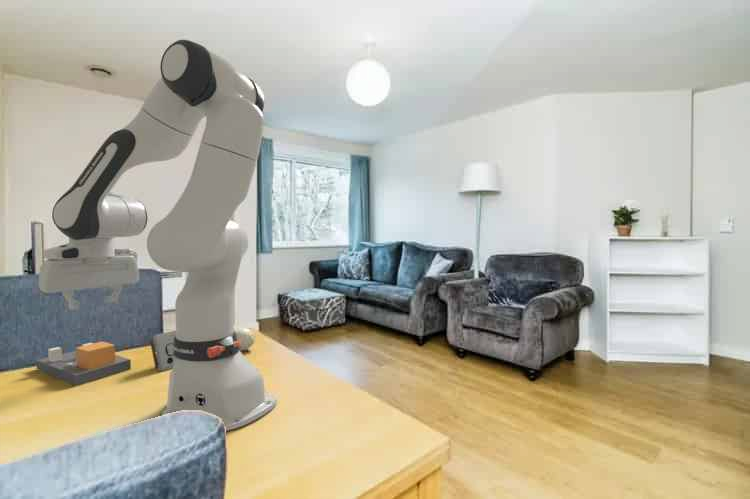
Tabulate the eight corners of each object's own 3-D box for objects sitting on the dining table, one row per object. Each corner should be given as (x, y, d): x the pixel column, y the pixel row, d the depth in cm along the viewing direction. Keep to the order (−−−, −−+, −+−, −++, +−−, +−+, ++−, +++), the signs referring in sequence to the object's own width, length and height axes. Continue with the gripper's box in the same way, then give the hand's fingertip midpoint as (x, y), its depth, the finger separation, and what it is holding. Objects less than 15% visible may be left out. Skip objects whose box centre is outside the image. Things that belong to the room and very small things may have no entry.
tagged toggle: (95, 355, 99) (94, 343, 98) (86, 357, 97) (85, 345, 97) (91, 353, 100) (90, 342, 99) (82, 355, 98) (82, 344, 98)
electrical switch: (160, 372, 94) (158, 336, 94) (148, 370, 97) (146, 335, 97) (194, 361, 102) (191, 327, 102) (182, 359, 105) (180, 327, 105)
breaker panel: (130, 369, 96) (130, 357, 96) (75, 386, 86) (75, 372, 85) (90, 355, 106) (90, 345, 105) (36, 369, 95) (36, 357, 95)
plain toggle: (62, 359, 95) (61, 348, 95) (52, 362, 93) (51, 350, 93) (58, 358, 96) (57, 347, 96) (48, 360, 94) (48, 349, 94)
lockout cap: (115, 362, 94) (114, 344, 94) (88, 370, 89) (88, 351, 88) (102, 358, 97) (102, 341, 96) (76, 365, 91) (75, 347, 91)
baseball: (249, 354, 108) (248, 332, 108) (225, 353, 109) (225, 330, 109) (259, 347, 115) (259, 326, 114) (236, 346, 116) (236, 325, 115)
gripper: (130, 247, 102) (131, 298, 102) (34, 251, 84) (36, 312, 85) (143, 248, 99) (144, 300, 99) (47, 252, 81) (49, 315, 82)
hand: (94, 306), depth 92 cm, fingers open, 7 cm apart
